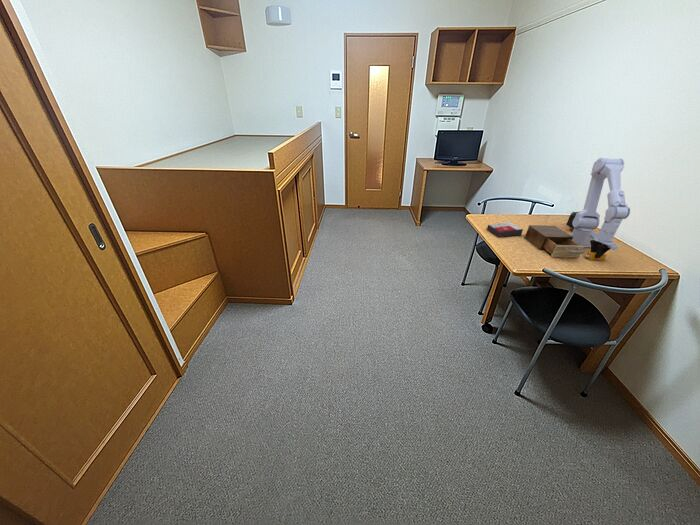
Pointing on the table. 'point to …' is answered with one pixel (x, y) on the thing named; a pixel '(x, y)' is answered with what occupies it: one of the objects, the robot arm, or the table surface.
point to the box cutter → (594, 256)
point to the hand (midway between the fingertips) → (594, 256)
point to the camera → (571, 218)
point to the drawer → (563, 247)
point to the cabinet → (544, 234)
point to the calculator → (504, 229)
